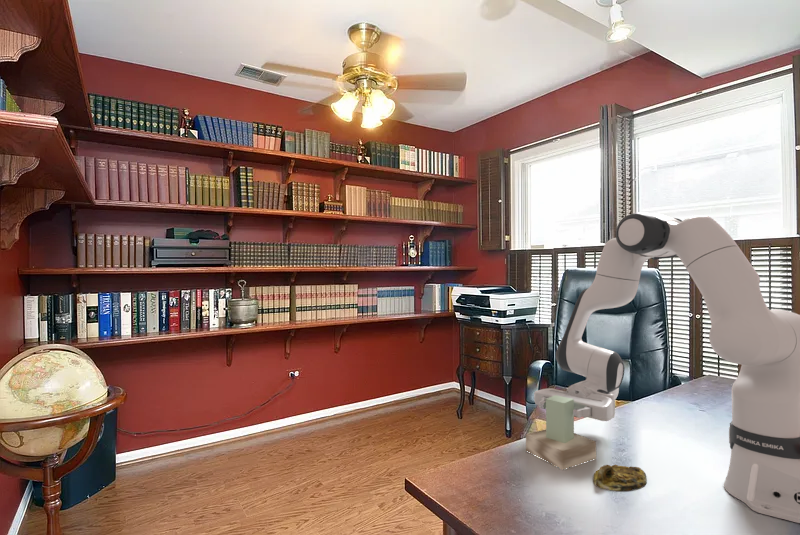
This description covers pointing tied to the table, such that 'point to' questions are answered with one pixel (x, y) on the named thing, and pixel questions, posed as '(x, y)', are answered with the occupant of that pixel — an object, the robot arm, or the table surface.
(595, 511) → the table surface
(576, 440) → the plinth
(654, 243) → the robot arm
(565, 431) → the green block
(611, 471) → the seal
